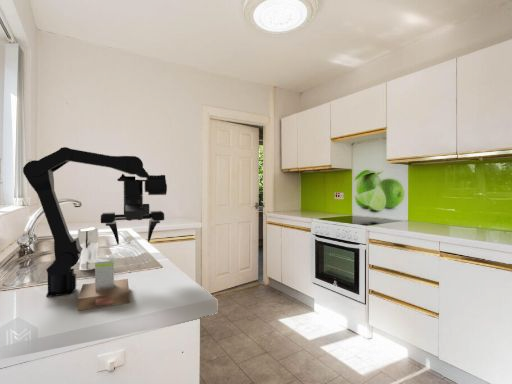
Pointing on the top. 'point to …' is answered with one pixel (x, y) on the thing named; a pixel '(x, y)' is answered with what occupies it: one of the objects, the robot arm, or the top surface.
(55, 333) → the top surface
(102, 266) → the metal column
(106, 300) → the walnut riser
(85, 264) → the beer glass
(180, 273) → the top surface
